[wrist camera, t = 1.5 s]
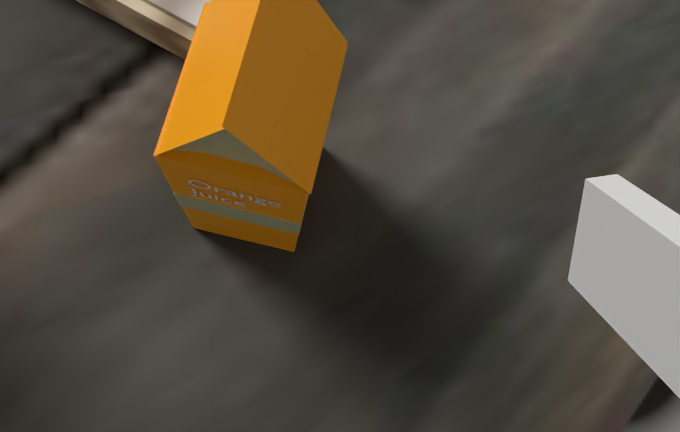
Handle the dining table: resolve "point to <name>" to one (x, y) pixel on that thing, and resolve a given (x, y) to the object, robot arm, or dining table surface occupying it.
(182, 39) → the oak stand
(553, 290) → the dining table surface
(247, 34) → the orange juice
